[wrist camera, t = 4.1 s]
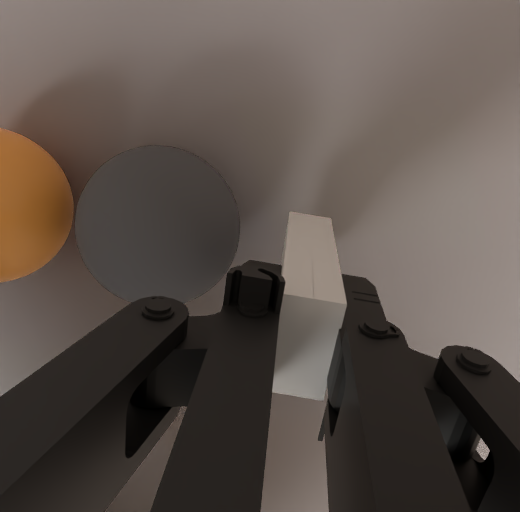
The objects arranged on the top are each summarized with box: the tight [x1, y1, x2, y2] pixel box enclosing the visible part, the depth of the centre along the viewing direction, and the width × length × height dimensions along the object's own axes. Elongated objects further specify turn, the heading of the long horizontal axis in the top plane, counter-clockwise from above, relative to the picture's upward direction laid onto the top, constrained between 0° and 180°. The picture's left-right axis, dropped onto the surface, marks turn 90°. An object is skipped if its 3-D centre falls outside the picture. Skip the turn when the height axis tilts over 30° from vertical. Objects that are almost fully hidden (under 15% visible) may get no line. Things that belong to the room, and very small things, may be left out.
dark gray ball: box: [75, 146, 240, 303], centre depth 15 cm, size 6×6×6 cm
